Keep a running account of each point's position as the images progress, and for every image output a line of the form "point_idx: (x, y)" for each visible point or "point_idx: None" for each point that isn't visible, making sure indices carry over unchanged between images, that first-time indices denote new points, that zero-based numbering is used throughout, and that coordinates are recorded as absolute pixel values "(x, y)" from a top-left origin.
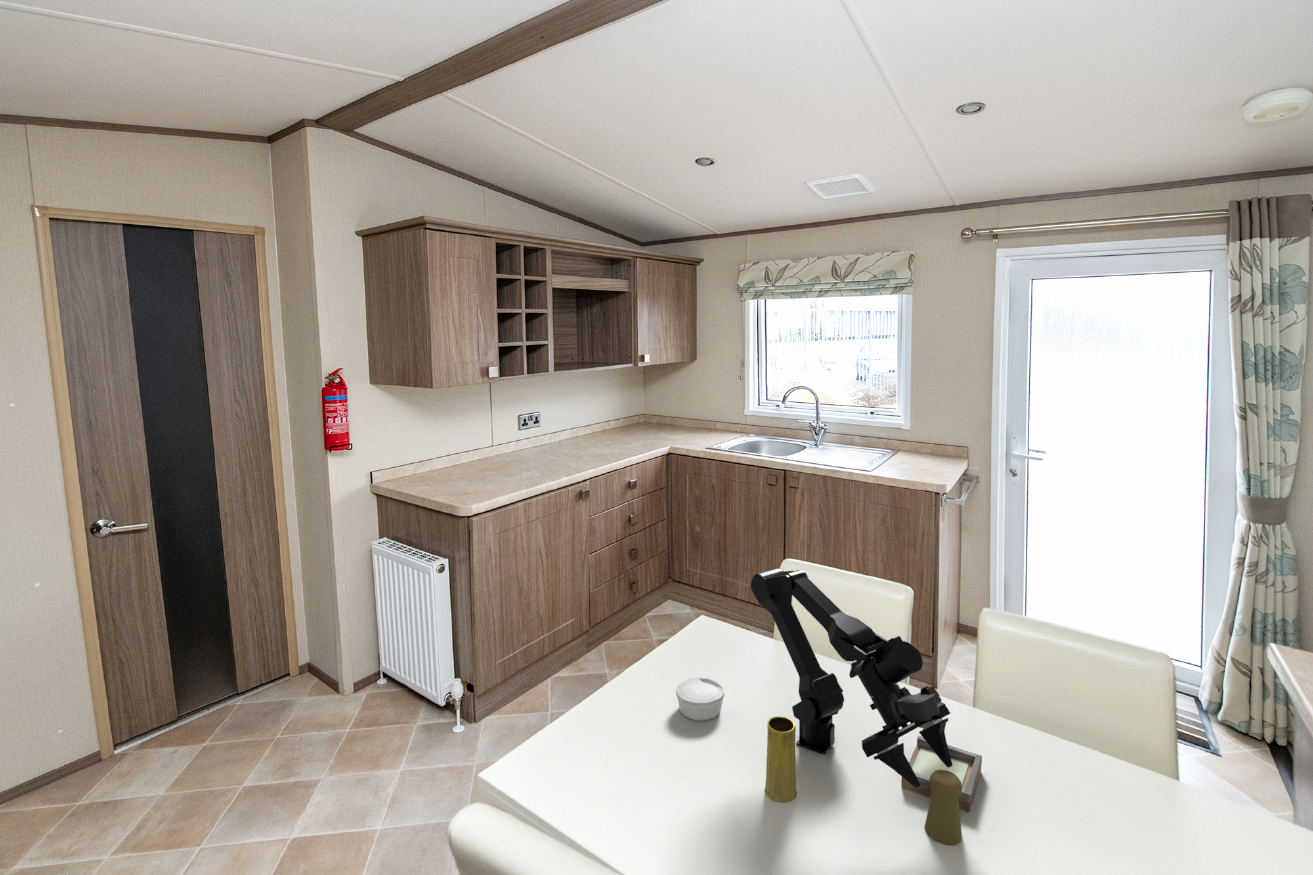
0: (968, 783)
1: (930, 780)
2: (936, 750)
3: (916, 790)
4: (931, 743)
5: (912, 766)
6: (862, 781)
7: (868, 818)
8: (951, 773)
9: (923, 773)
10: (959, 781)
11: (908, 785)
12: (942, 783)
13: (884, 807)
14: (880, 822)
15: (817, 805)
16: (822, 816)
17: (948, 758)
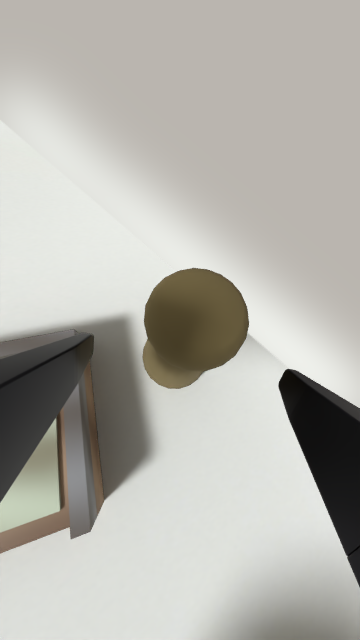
0: (27, 348)
1: (234, 354)
2: (44, 417)
3: (98, 458)
4: (8, 468)
5: (14, 528)
6: (156, 615)
7: (257, 489)
8: (169, 298)
9: (35, 475)
10: (182, 271)
11: (98, 484)
12: (242, 303)
13: (201, 484)
14: (246, 459)
15: (332, 636)
16: (343, 585)
17: (78, 342)
